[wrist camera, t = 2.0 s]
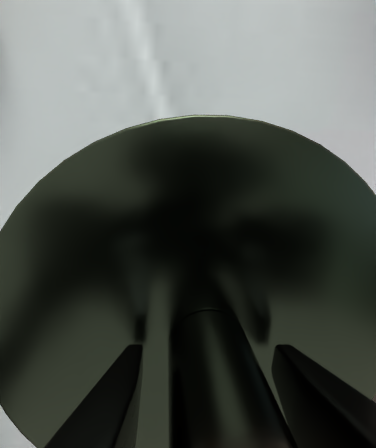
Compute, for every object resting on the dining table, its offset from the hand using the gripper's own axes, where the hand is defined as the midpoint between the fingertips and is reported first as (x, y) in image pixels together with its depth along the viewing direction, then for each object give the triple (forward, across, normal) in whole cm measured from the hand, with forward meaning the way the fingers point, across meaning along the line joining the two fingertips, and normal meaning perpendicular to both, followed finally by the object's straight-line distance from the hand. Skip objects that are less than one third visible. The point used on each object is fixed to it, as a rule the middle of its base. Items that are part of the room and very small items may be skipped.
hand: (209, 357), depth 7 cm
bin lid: (+1, 0, 0) cm, 1 cm away
